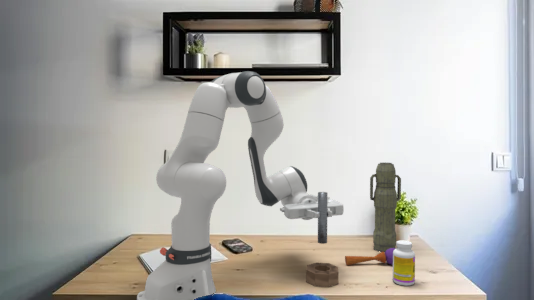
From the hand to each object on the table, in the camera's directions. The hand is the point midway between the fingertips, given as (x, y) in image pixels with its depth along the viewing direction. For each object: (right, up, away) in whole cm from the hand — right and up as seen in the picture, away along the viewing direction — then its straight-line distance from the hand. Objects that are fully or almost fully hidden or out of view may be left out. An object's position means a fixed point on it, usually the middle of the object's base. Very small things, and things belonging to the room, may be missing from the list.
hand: (323, 214), depth 122 cm
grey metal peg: (0, -9, +1) cm, 9 cm away
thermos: (+30, -20, +34) cm, 49 cm away
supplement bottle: (+25, -22, 0) cm, 33 cm away
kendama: (+20, -21, +17) cm, 34 cm away
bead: (0, -21, +2) cm, 21 cm away
